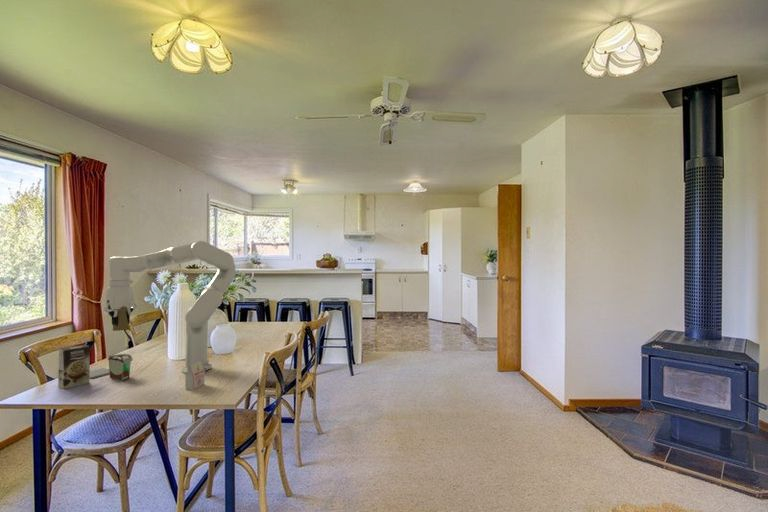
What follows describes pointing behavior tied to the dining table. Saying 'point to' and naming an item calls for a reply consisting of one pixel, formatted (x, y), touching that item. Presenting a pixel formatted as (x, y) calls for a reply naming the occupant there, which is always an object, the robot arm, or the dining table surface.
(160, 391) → the dining table surface
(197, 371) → the red printed box
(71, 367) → the coffee box
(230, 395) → the dining table surface
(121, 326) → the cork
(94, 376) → the slate coaster
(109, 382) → the dining table surface
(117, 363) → the food container
